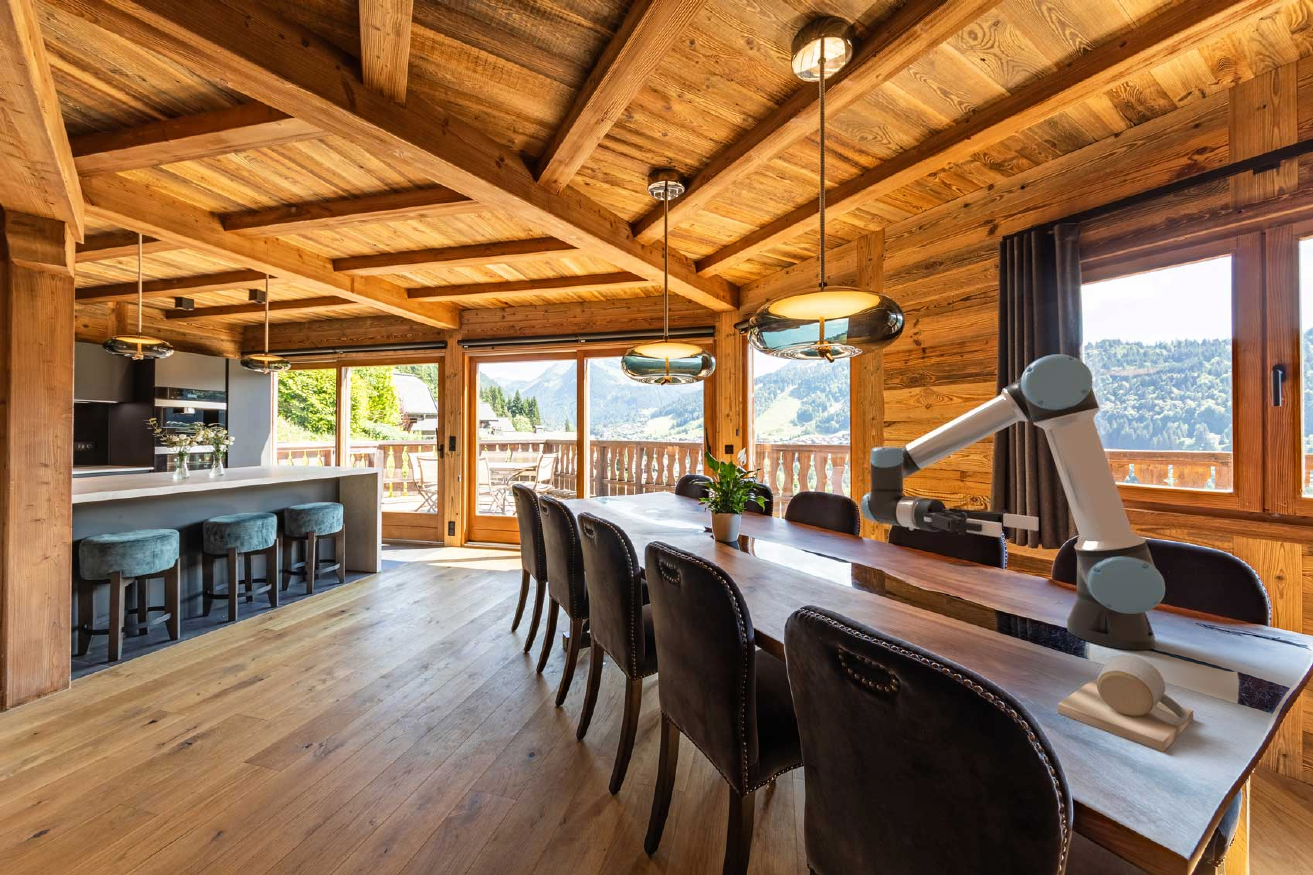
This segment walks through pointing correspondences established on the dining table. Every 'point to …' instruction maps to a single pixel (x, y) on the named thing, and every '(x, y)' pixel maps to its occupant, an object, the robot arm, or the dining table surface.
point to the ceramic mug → (1137, 689)
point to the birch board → (1121, 718)
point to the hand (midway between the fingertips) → (1019, 527)
